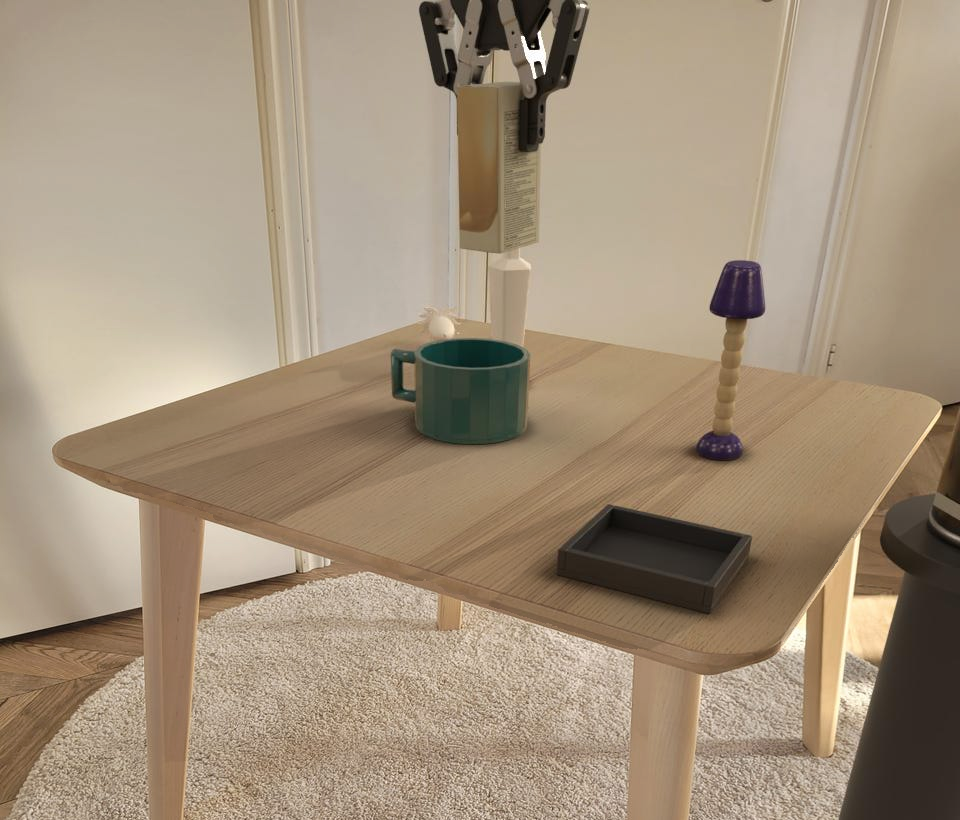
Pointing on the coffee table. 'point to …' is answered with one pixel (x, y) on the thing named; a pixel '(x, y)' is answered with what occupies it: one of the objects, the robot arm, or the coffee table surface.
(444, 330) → the cream spiky figurine
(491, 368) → the teal coffee mug
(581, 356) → the coffee table surface
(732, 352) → the toy lamp
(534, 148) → the robot arm
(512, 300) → the white bottle vase
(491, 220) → the cosmetic box
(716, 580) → the tray
